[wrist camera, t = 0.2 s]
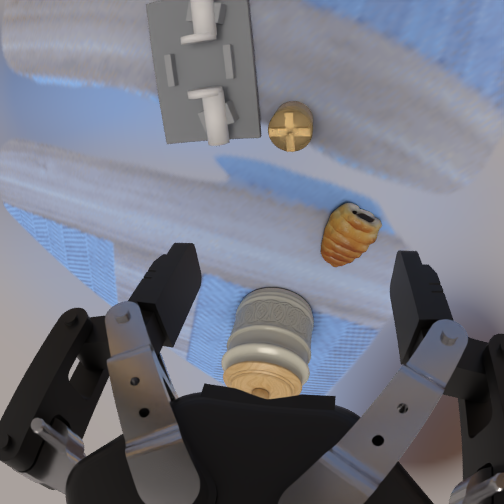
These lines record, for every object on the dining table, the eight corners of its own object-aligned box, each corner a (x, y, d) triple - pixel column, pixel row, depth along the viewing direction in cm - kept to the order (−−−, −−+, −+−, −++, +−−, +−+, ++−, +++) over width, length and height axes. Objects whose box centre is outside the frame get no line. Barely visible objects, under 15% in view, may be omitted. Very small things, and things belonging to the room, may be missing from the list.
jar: (255, 273, 49) (228, 369, 35) (328, 305, 50) (324, 401, 36) (228, 320, 57) (200, 405, 43) (291, 346, 58) (279, 431, 44)
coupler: (274, 101, 34) (265, 111, 28) (312, 100, 33) (311, 110, 28) (276, 136, 36) (268, 153, 31) (313, 136, 35) (313, 153, 30)
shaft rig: (149, 5, 28) (128, 1, 24) (246, -15, 26) (236, -25, 21) (170, 141, 39) (152, 154, 35) (261, 135, 36) (253, 147, 32)
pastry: (349, 266, 45) (350, 283, 42) (308, 248, 45) (307, 264, 42) (383, 216, 40) (388, 231, 37) (340, 194, 39) (341, 208, 36)
